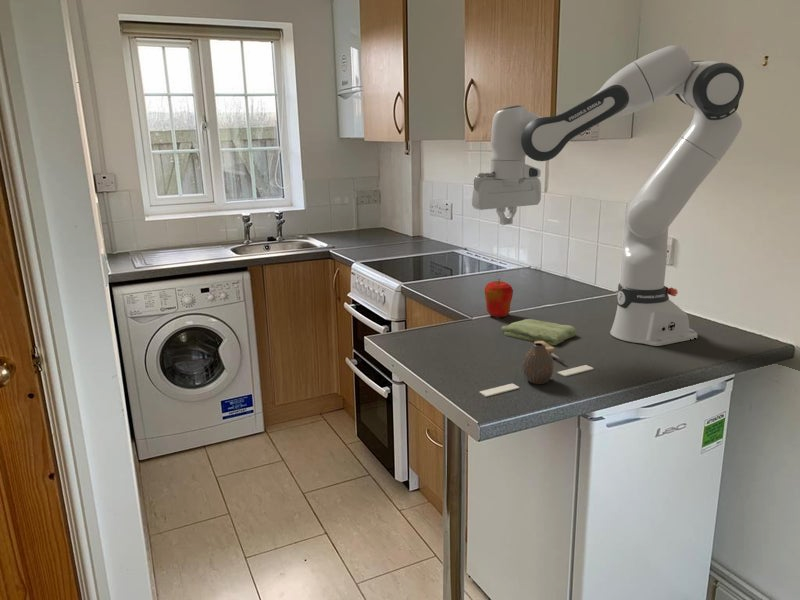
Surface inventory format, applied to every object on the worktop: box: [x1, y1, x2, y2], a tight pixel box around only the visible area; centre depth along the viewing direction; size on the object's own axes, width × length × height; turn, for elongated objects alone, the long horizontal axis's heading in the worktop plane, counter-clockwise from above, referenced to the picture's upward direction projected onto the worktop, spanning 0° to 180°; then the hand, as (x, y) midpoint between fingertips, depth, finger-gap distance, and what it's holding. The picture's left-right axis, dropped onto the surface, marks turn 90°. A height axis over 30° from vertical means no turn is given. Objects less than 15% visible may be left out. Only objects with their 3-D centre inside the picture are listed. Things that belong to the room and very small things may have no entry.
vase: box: [522, 343, 555, 385], centre depth 138 cm, size 7×7×9 cm
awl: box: [533, 341, 565, 363], centre depth 153 cm, size 12×2×2 cm, turn 17°
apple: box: [484, 278, 514, 318], centre depth 187 cm, size 9×8×12 cm
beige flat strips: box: [479, 364, 594, 398], centre depth 139 cm, size 31×2×1 cm, turn 117°
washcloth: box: [501, 318, 578, 347], centre depth 170 cm, size 13×18×3 cm
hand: (506, 224), depth 162 cm, fingers closed
